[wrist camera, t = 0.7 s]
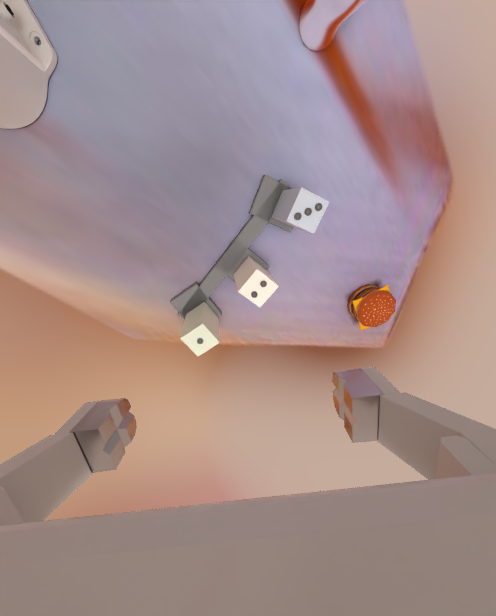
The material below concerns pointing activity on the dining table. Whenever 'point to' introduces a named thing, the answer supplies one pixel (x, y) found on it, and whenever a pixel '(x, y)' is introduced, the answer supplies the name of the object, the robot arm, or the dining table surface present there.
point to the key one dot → (200, 329)
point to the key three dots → (300, 209)
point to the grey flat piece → (236, 249)
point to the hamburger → (371, 305)
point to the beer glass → (324, 20)
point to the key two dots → (254, 282)
